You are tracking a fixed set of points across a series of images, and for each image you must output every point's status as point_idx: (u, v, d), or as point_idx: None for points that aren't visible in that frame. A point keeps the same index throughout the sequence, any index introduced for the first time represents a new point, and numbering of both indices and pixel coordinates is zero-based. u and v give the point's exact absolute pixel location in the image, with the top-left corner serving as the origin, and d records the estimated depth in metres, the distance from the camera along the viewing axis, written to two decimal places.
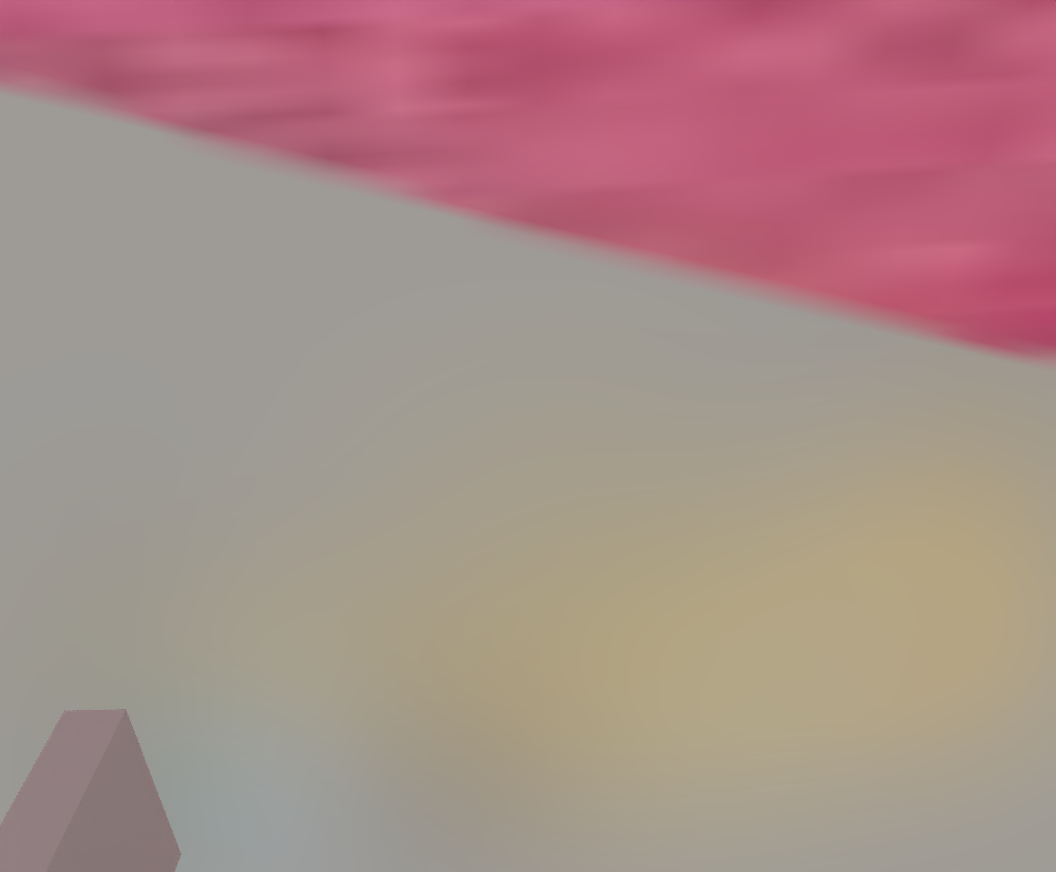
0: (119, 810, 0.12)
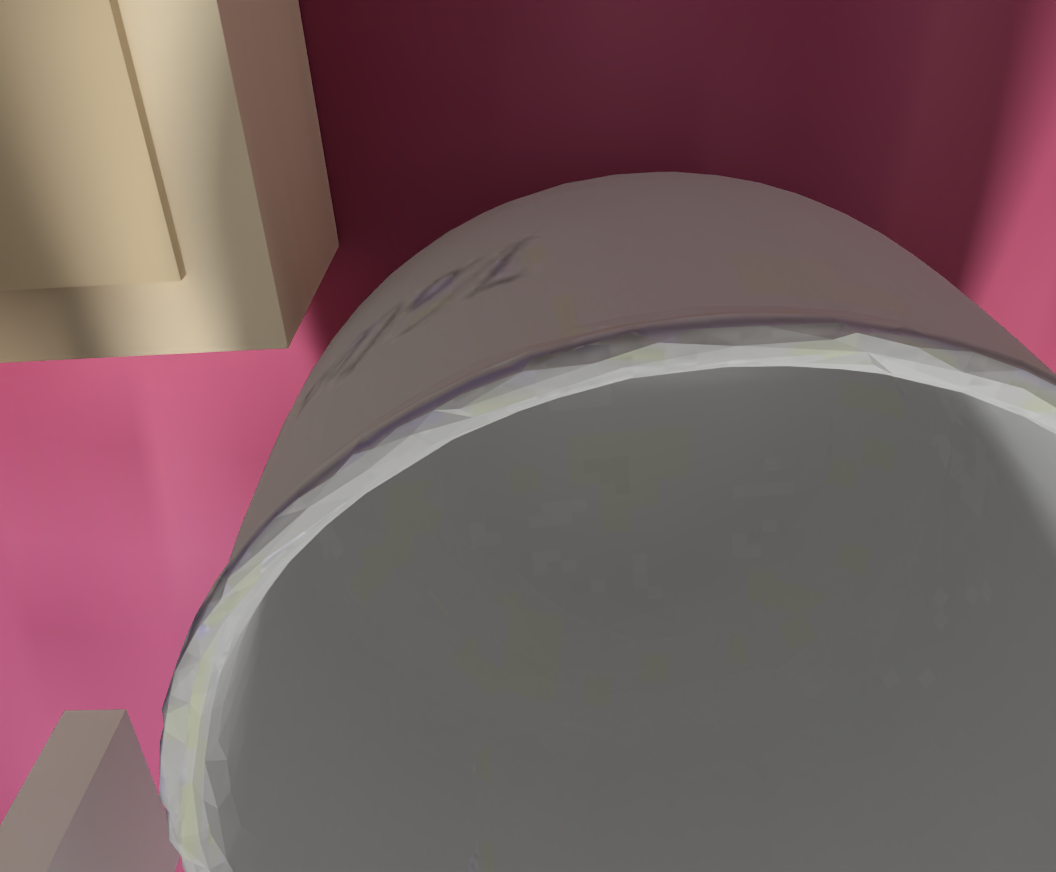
0: (118, 810, 0.12)
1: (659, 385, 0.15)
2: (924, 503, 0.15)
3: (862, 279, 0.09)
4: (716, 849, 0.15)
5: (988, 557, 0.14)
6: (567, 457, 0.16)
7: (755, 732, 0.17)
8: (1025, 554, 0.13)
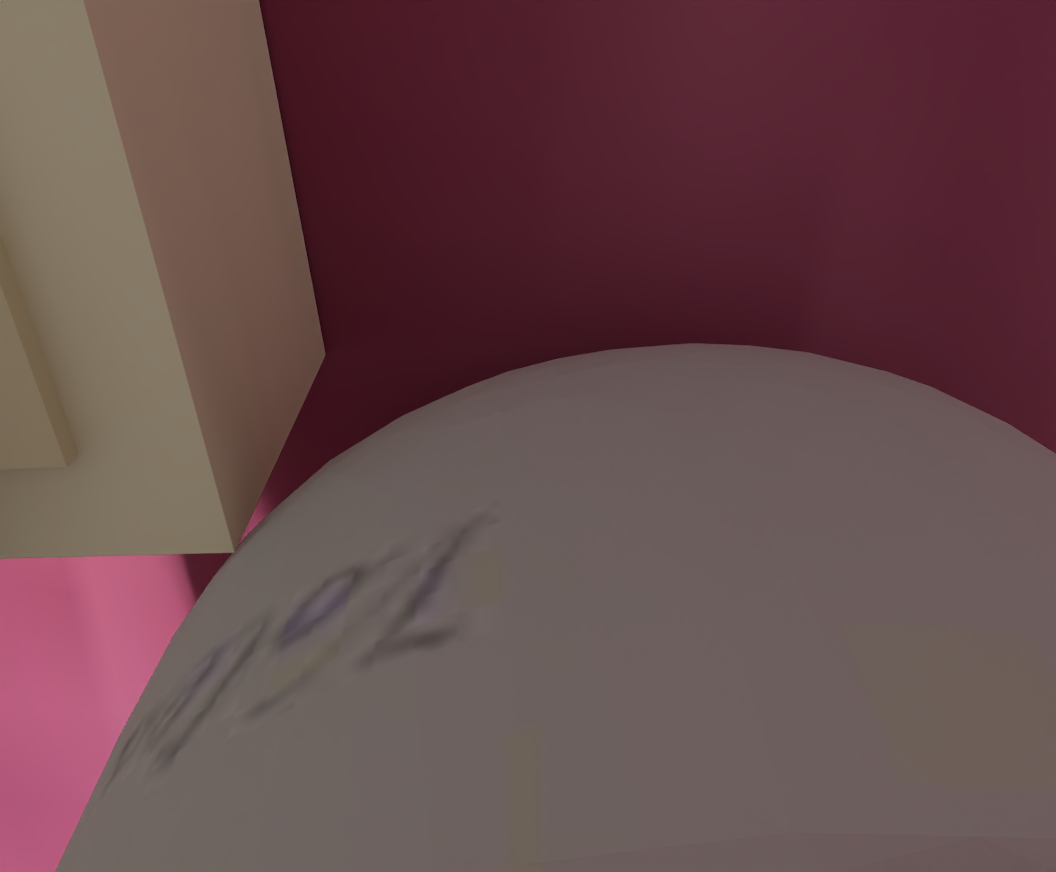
0: None
1: None
2: None
3: None
4: None
5: None
6: None
7: None
8: None
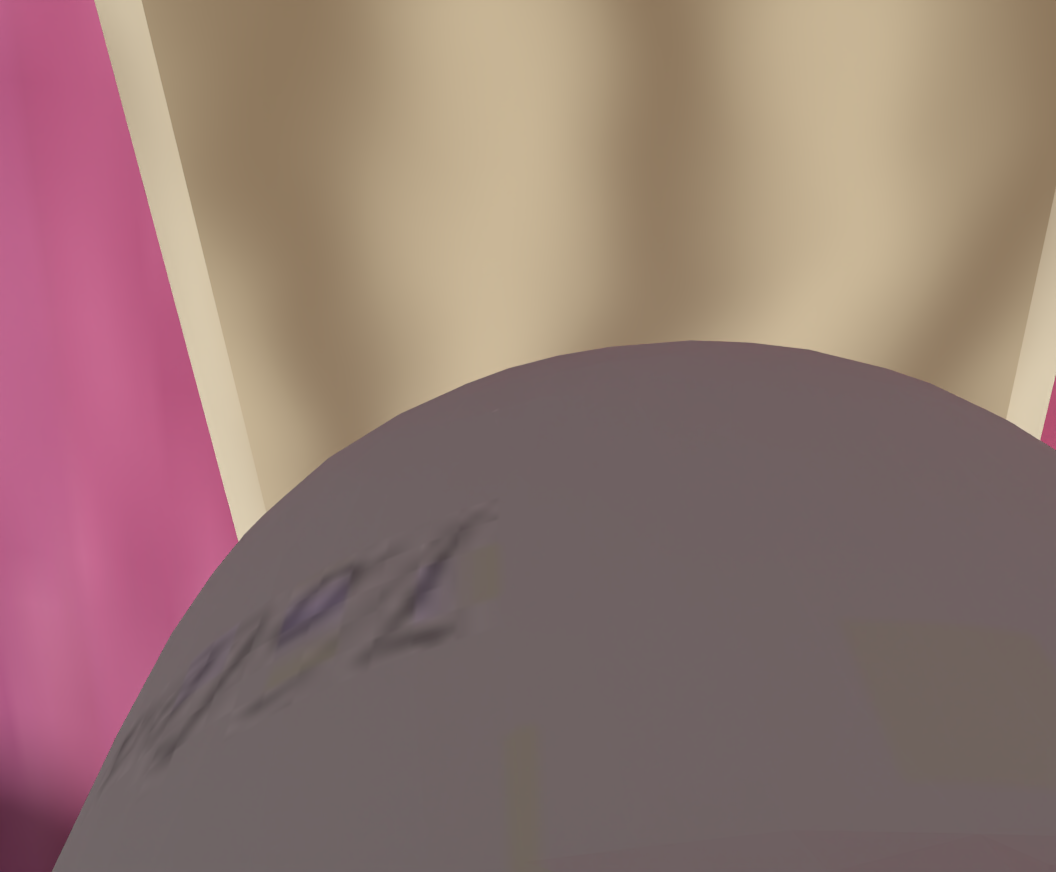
0: None
1: None
2: None
3: None
4: None
5: None
6: None
7: None
8: None
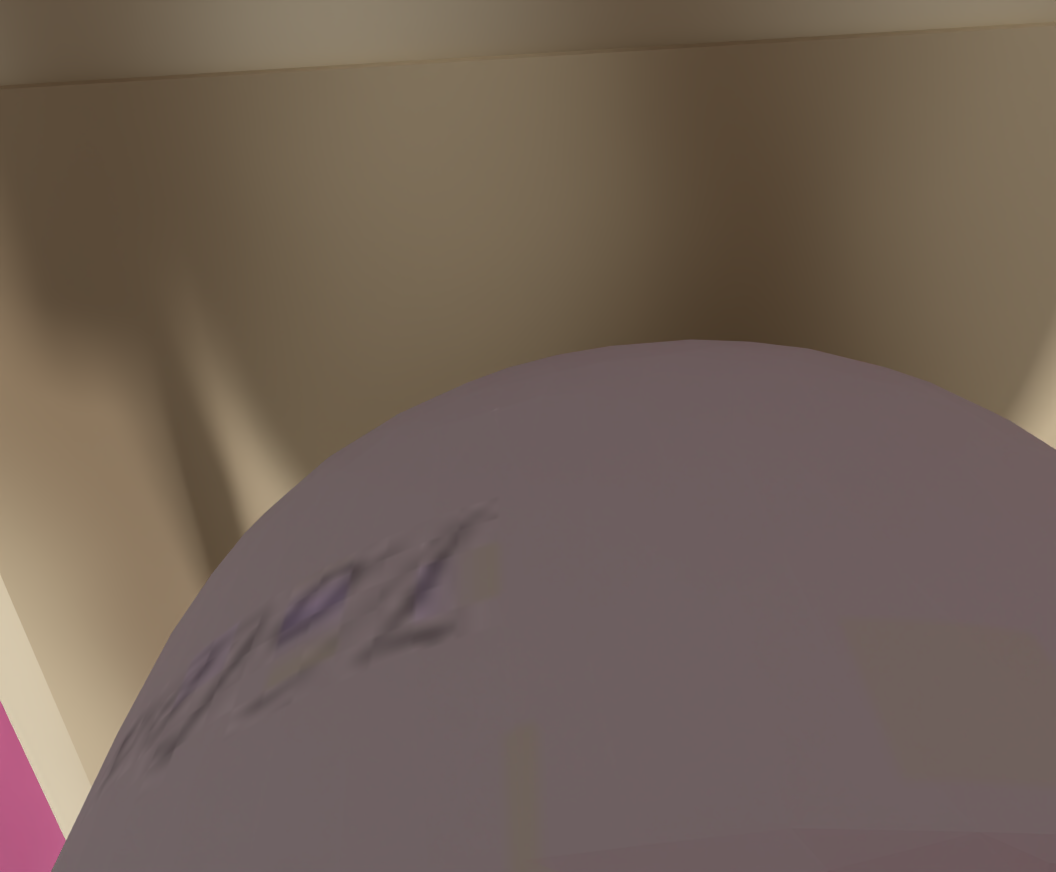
0: None
1: None
2: None
3: None
4: None
5: None
6: None
7: None
8: None
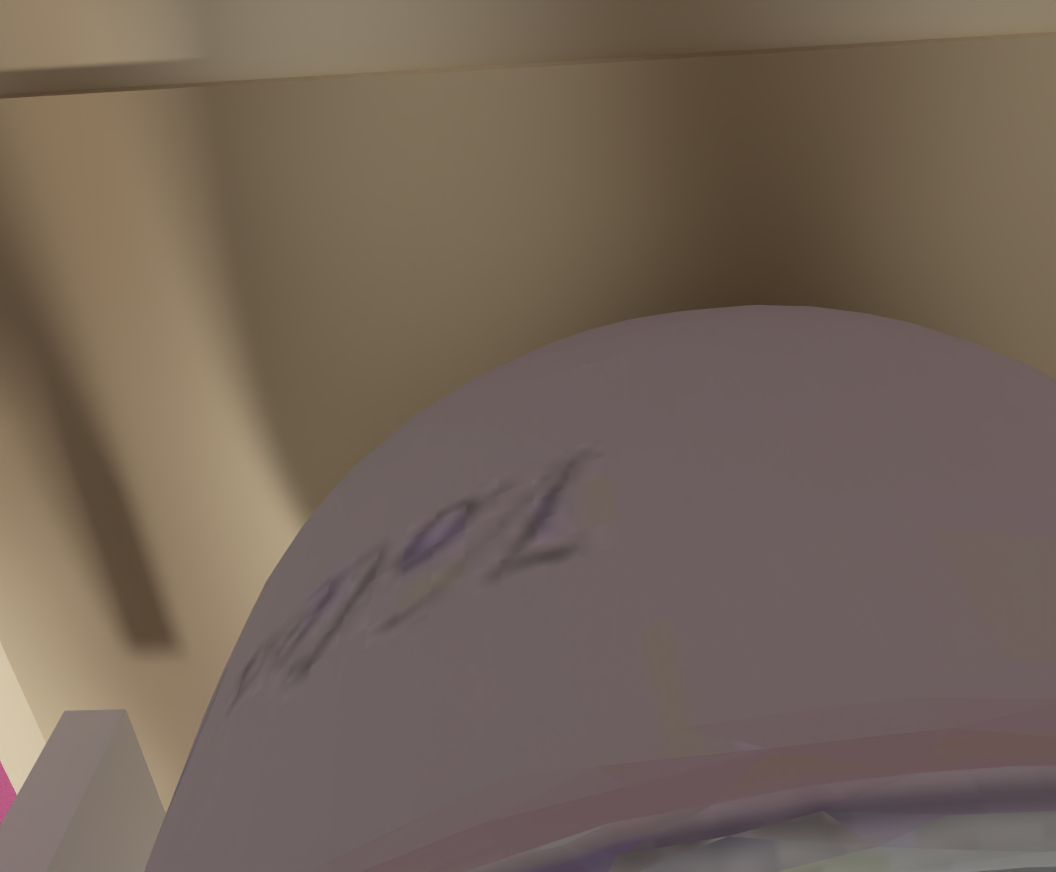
0: (119, 810, 0.12)
1: None
2: None
3: None
4: None
5: None
6: None
7: None
8: None
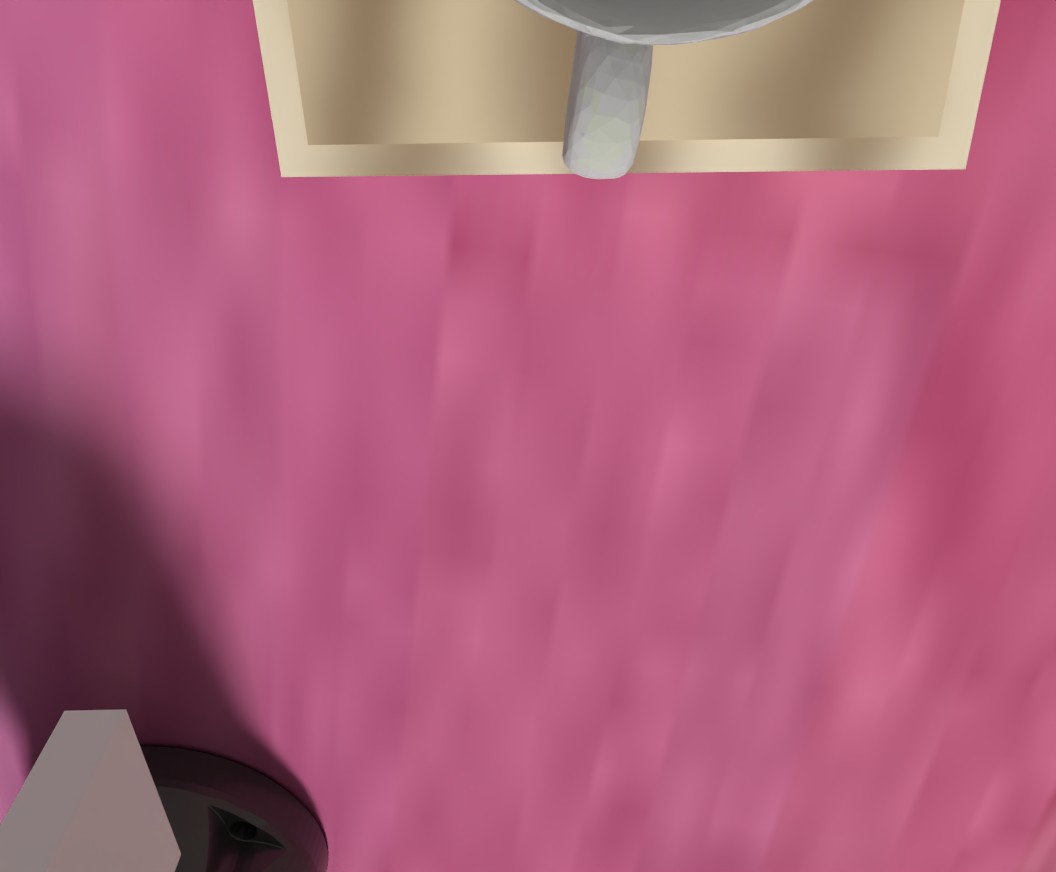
0: (119, 810, 0.12)
1: None
2: None
3: None
4: None
5: None
6: None
7: None
8: None
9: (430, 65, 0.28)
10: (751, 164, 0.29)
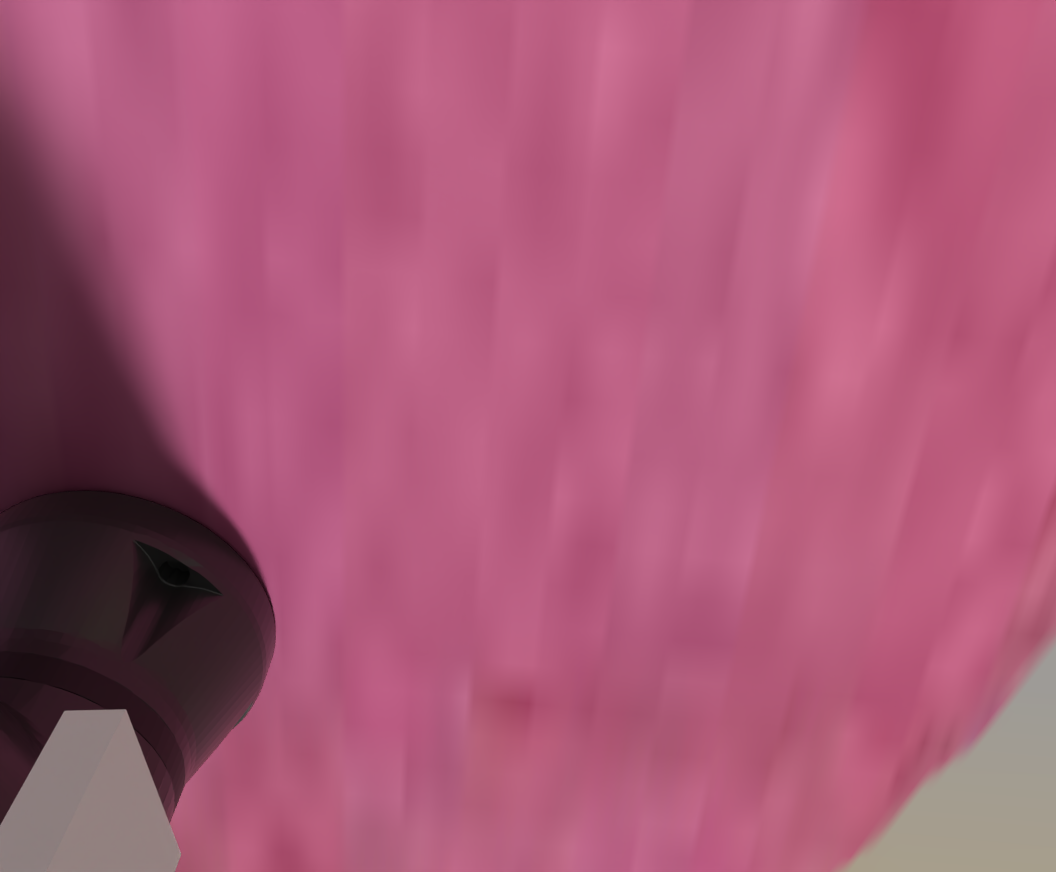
0: (118, 810, 0.12)
1: None
2: None
3: None
4: None
5: None
6: None
7: None
8: None
9: None
10: None
